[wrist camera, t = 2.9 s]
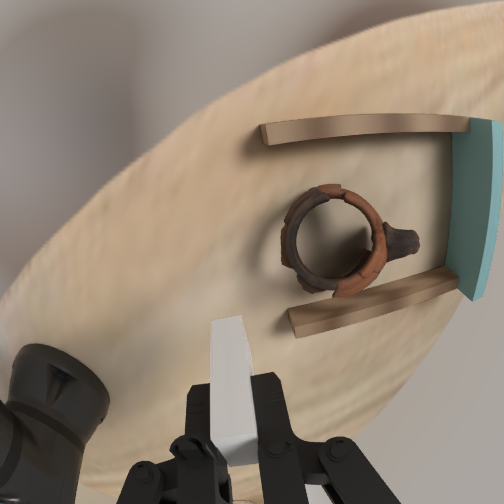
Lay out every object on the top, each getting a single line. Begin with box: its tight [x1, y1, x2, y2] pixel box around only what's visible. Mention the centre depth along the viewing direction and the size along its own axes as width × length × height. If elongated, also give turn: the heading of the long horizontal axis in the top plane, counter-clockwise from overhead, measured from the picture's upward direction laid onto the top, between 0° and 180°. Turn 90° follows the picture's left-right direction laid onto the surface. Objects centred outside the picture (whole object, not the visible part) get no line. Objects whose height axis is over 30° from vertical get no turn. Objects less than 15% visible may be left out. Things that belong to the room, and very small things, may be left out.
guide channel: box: [260, 114, 471, 339], centre depth 24 cm, size 20×19×3 cm
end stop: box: [445, 116, 503, 302], centre depth 23 cm, size 2×19×6 cm, turn 10°
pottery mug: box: [281, 184, 420, 298], centre depth 23 cm, size 12×10×8 cm
